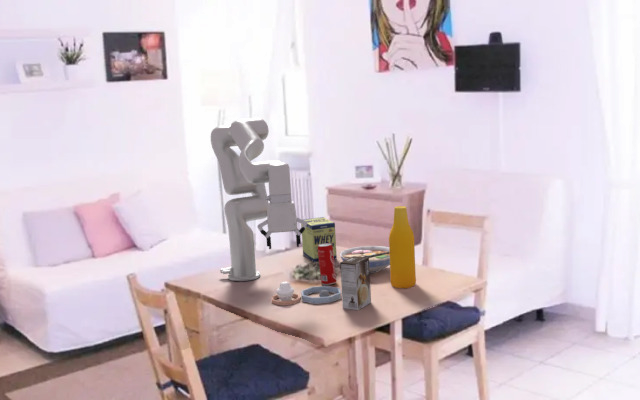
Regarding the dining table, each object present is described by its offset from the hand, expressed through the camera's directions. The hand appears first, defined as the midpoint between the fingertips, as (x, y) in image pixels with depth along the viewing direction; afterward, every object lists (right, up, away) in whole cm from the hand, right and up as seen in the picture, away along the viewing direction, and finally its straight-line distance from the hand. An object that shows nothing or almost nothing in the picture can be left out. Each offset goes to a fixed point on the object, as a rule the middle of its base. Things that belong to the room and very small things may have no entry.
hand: (284, 247), depth 271 cm
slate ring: (+13, -18, +5) cm, 23 cm away
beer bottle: (+43, -15, +14) cm, 47 cm away
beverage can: (+15, -15, +22) cm, 30 cm away
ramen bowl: (+32, -12, +35) cm, 49 cm away
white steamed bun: (0, -19, +3) cm, 19 cm away
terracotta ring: (0, -19, +3) cm, 19 cm away
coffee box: (+25, -20, -7) cm, 32 cm away
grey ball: (+14, -19, +1) cm, 23 cm away
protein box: (+12, -8, +62) cm, 64 cm away
